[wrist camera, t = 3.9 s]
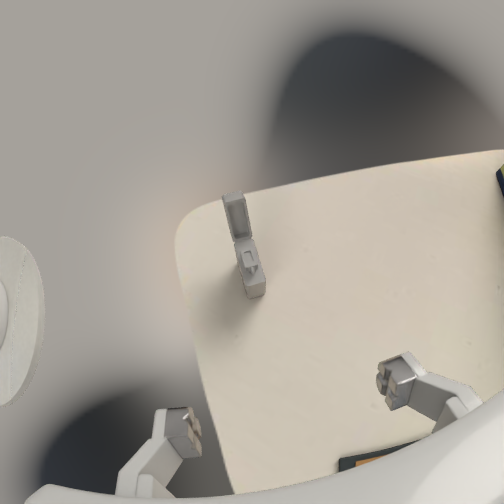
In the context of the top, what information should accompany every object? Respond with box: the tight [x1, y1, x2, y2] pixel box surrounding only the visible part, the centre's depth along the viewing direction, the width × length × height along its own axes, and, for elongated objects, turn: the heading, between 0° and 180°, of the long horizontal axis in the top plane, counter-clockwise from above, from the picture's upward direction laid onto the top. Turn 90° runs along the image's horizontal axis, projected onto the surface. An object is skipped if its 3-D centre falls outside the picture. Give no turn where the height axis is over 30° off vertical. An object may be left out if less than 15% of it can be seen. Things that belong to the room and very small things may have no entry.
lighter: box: [222, 191, 266, 299], centre depth 26 cm, size 7×2×8 cm, turn 16°
